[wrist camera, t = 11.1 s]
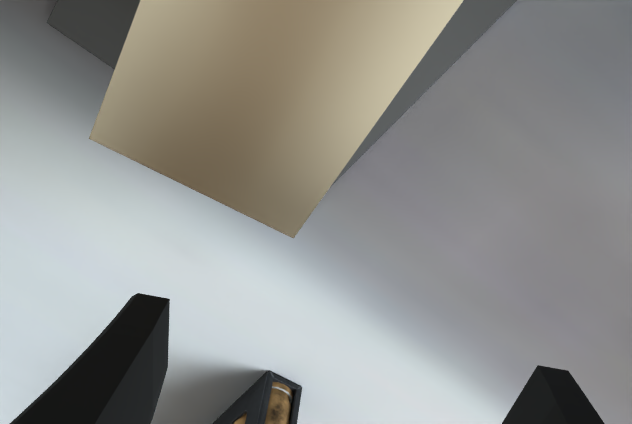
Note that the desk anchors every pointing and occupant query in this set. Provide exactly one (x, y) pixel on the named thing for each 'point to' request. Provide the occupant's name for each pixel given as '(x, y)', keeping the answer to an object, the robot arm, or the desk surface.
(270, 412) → the ammunition clip
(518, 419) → the robot arm
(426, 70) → the rubber mat
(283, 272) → the desk surface
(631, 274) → the desk surface
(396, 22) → the maple block
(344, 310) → the desk surface
